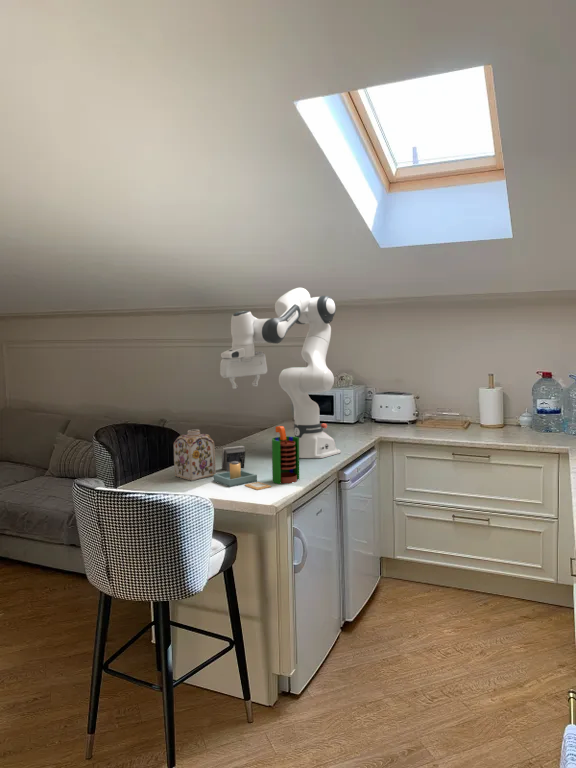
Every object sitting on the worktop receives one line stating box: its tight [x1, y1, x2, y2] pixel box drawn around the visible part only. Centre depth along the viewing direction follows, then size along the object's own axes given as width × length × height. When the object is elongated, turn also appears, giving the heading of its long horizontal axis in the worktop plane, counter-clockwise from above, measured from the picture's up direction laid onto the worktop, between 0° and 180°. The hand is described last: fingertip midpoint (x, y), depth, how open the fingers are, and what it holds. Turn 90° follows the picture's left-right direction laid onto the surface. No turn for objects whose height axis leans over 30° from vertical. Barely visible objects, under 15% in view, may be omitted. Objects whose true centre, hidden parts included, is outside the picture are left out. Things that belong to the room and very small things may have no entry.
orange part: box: [230, 461, 242, 479], centre depth 220 cm, size 4×4×7 cm
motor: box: [271, 425, 300, 485], centre depth 218 cm, size 10×9×20 cm
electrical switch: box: [221, 445, 246, 471], centre depth 240 cm, size 9×5×9 cm, turn 113°
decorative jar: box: [173, 429, 217, 481], centre depth 230 cm, size 12×12×18 cm
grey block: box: [226, 461, 241, 472], centre depth 230 cm, size 4×4×5 cm
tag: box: [244, 481, 272, 491], centre depth 212 cm, size 6×8×1 cm
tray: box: [213, 469, 258, 488], centre depth 220 cm, size 12×12×2 cm
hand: (245, 387), depth 236 cm, fingers open, 8 cm apart
